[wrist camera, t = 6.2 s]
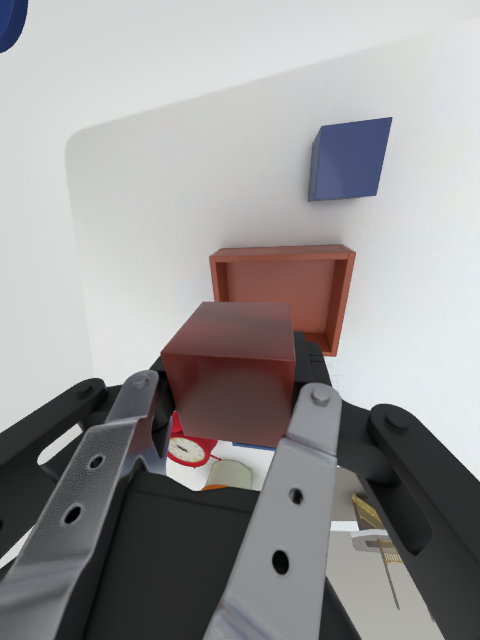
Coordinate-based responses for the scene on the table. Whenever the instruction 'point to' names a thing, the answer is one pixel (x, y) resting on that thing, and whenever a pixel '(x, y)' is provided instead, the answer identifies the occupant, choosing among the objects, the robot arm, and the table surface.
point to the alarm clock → (188, 446)
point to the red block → (234, 372)
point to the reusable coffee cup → (229, 475)
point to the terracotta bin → (290, 284)
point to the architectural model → (362, 519)
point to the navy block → (348, 159)
